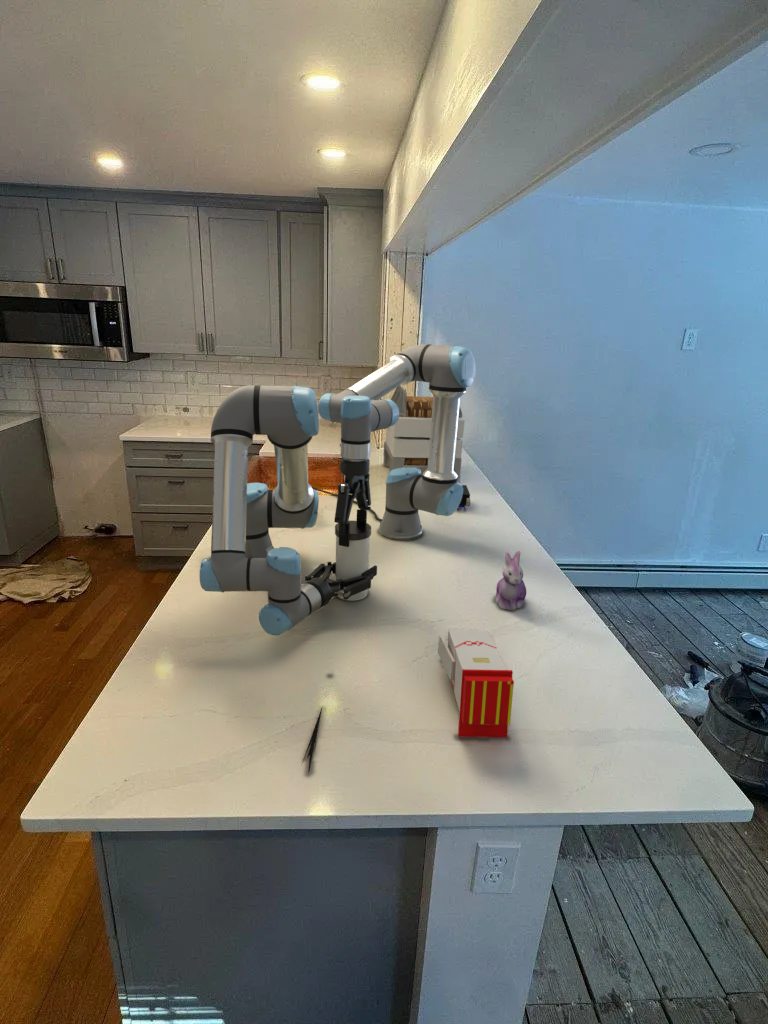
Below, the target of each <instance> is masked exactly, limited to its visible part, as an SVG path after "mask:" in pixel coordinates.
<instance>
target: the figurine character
mask: <svg viewBox="0 0 768 1024" xmlns="http://www.w3.org/2000/svg"><path fill="white" fill-rule="evenodd" d="M461 485H462V486H463V495H462V499H461V502H460V504H459V506H458V508H457V509H456V511H459V510H460V509H463V511H465V512H466V511H467V508H466V507H468V508H470V507H471V493H470V491H469V488H468V486H467V485H466V484H461Z"/></svg>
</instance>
